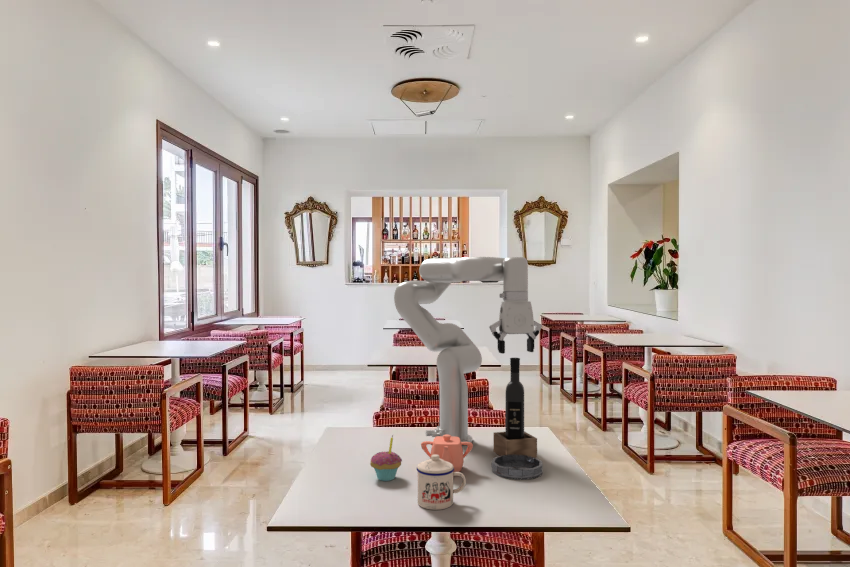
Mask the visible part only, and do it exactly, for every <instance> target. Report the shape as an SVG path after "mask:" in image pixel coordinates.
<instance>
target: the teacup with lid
mask: <svg viewBox="0 0 850 567" xmlns="http://www.w3.org/2000/svg"><path fill="white" fill-rule="evenodd" d="M416 471H417V504H418V505H419V507H421V508H423V509H426V510H431V511H433V510H435V511H436V510H437V511H438V510H444V509H448V508H450V507H451V506H452V505H453V504H454V494H458V493H460V492H462V491H463V490H464V488H465V486H466V483H467V482H466V481H467V480H466V477H465V474H464V473H462V472H461V471H459V472H453V471H454V467H453V465H452V464H451V463H450V462H447V461H444V460H443V459H440V458H439V455H436V454H434V455H432V456H431V459H430V458H428V459H426V460H423V461H421V462H420V463H418V464H417V466H416ZM455 476H456V477H457V476H459V477H461V478H462V482H461V484H460V486H459V487H457V488H454V477H455Z"/></svg>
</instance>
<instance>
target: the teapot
mask: <svg viewBox="0 0 850 567" xmlns="http://www.w3.org/2000/svg"><path fill="white" fill-rule="evenodd" d="M428 445H431V449H430V451H429V449H428V447H427V446H428ZM420 446H421V449H422V450H423V452H424V453H425V454H426V455H427V457H429V459H431V456H432V455H434V454H436V455H439V458H440V459H443V460H444V461H447V462H450V463H451V464H452V465H453V467H454V471H453V472H461V471H462V469H463V466H464V462H465V461H464V459H465V457H467V456H468V454H470V452H471V451H472V450H473V447H474V444H473V443H472V442H461V441H460V438H459V437H453V436H451V435H448V434H446V435H443V436H436V437H433V441H431V440H429V441H428V440H425V441H422V442H421V444H420ZM463 446H467V448H466V449H465V452H464V450H463Z"/></svg>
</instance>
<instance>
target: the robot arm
mask: <svg viewBox="0 0 850 567" xmlns="http://www.w3.org/2000/svg"><path fill="white" fill-rule="evenodd" d="M528 266H529V264H528V260H527V258H526V257H524V256H523V257H522V256H510V257H509V256H508V257H495V256H492V257H491V256H469V257H467V256H466V257H462V256H457V257H435V258H434V257H432V258H431V257H430V258H427V259H425V260H423V261H422V263H420V266H419V269H418V272H419V275H420V277H421V279H423V280H408V281H404V282H401V283H400V284H398V285H397V287H396V288H395V290H394V295H393V301H394V306H395V308H396V312H397V313H398V314H399V316H400V317H401V318H402V319H403V321H404V322H405V323H406V324H407V325H408V326H409V327H410V329H412V331H413V333H415V335H416V336H417V338H419V339H418V340H420V341H421V343H422V344H423V345H424V347H425V348H426V349H428V350H429V351H430V352H432V353H433V352H434V353H438V352H439V353H438V355H437V357H436V369H437V376H438V382H439V426H438V425H437V426H436V428H434V429H429V430H425V436H426V437H431V438H435V437H436V436H443V435H446V434H448V435H451V436H453V437H459V438H460V441H461V442H471V443H472V442H473V436H472V435H470V434H469V433H468V432H469V426H468V424H469V422H468V421H469V419H468V418H469V413H468V412H469V410H468V409H469V406H468V405H469V395H468V393H469V392H468V391H469V390H468V388H469V386H468V383H467V380H466V377H465V374H469V373H473V372H475V371H477V370H478V369H479V368H480V367H481V366H482V362H483V357H482V353H481V351H480V349H479V348H478V346H477V345H476V344H475V343H474V342H473V340H472V339H470V337H469V336H468V335H467V333H466V332H464V330H463V328H461V327H460V326H459V325H457V324H454V323H451V322H446V323H445V322H444V323H441V322H439V321H437V319H436V318H434V316H433V314H431V313H430V312H429V311H428V310H427V309H426V308H425V307H423V306H422V305H427V304H428V305H429V304H433V303H435V302H436V301H437V300H438V299H439V298H440V297H441V296H442V294H444V293H445V291H446V290H447V289H448V288H449V287H450V285H451V284H453V283H454V284H455V283H462V282H503V285H502V286H503V287H502V290H503V291H502V292H501V293H499V298H500V299H502V300H503V301H501V304H500V308H499V314H498V315H499V316H498V317H499V318H498V319H499V320H498V321H496V322H494V323H492V324H490V325H489V326H488V328H489V330H490V332H491V335H492V336H493V337H494V338H495V339H496V340H497V351H498V354H499V353H500V354H505V353H506V341H505V340H504V339H505V337H506V336H508V335H526V336H527V339H526V352H529V353H534V352H535V351H534V349H535V340H536V339H537V336H538V335H539V334H540V331H541V329H542V328H543V325H542V324H541V323H539V322H537V321H536V320H534V312H533V307H532V301H531V300H530V301H529V269H528ZM497 328H498V331H499V332H498V331H497Z"/></svg>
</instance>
